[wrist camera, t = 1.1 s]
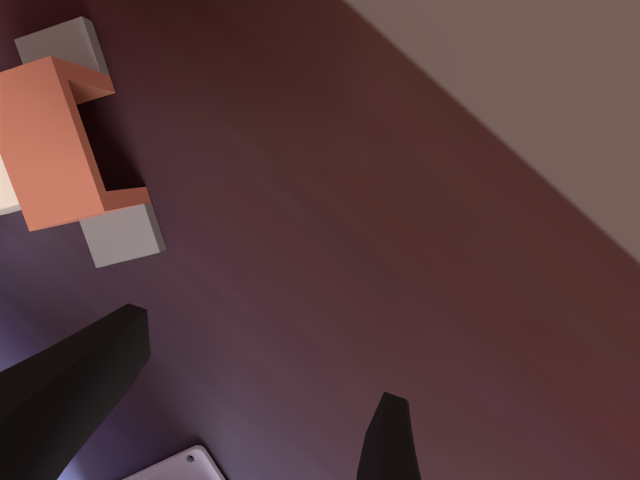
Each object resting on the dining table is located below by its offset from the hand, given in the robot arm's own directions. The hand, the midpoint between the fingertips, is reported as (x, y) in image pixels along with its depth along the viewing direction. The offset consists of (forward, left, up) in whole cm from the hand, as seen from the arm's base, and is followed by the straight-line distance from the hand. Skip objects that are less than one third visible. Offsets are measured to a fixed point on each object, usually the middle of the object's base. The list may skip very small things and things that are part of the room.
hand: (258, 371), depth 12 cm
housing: (-7, +11, -11) cm, 18 cm away
